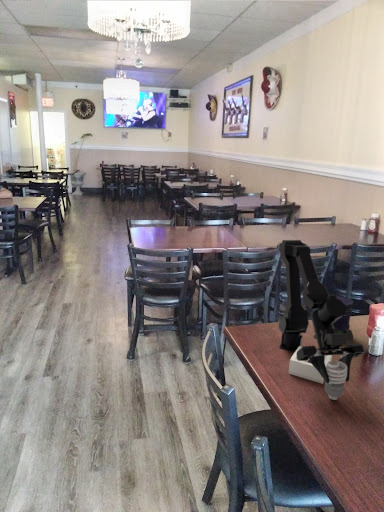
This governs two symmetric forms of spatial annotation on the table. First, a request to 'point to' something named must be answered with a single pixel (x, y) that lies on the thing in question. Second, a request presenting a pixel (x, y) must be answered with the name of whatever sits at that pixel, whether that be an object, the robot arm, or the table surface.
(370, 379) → the table surface
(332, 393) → the light bulb
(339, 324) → the storage jar
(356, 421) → the table surface
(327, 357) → the white open box
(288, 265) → the robot arm
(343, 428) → the table surface
